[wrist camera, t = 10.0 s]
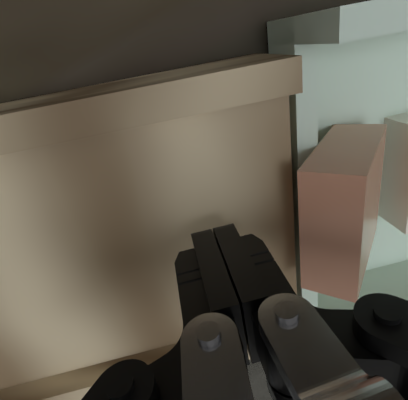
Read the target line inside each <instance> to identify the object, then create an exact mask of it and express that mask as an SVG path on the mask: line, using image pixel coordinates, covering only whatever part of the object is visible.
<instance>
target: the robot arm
mask: <svg viewBox="0 0 408 400" xmlns="http://www.w3.org/2000/svg"><path fill="white" fill-rule="evenodd" d="M191 237H192V241H193V245H194V248H192V249H188V250H184V251H180V252H179V253H178V256H177V258H176V260H175V263H174V264H175V271H176V278H177V284H178V292H179V299H180V306H181V312H182V319H183V331H182V334H181V337H180V339H179V341H178V342H177V344H176V345H175V346H174V347H173V348H172V349H171V350H170V351H169V352H168V353H166V354H165V355H163V356H162V357H160V358H159V359H157V360H155V361H154V362H152V363H150V364H149V365H147V364H146V363H145V362H143V361H141V360H138V359H127V360H122V361H120V362H117V363H115V364H114V365H112V366H110V367H109V368H108V369H106V370H105V371H104V372H103V373H102V374H101V375H100V377H99V378H98V379H97V380H96V382H95V383H94V384H93V385H92V387H91V388H90V389H89V390H88V392H87V393H86V394H85V396H84V397H83V398H82V399H81V400H254V397H253V393H252V389H251V385H250V381H249V375H248V370H247V365H249V364H250V363H249V357H248V353H249V356H250V359H251V362H252V363H256V362H259V361H261V364H262V366H263V369H264V372H265V374H266V380H267V387H268V390H269V393H270V395H271V397H272V399H273V400H408V300H405V299H402V298H400V297H397V296H393V295H390V294H385V293H372V294H367V295H364V296H362V297H360V298H359V299H358V300H357V301H356V303H355V304H354V308H353V309H323V308H318V307H315V306H313V305H312V304H311V303H310V302H309V301H307V300H306V299H305V298H303V297H301V296H298V295H296V293H295V292H294V290H293V289H292V287H291V285H290V284H289V282H288V280H287V279H286V277H285V276H284V274H283V272H282V271H281V269H280V267H279V266H278V264H277V263H276V261H274V258H273V256H272V255H271V253H270V252H269V250H268V248H267V246H266V245H265V243H264V242H263V240H261V239H260V238H258V237H257V236H255V235H253V234H248V235H244V236H240V235H239V233H238V231H237V229H236V227H235V225H234V224H233V223H232V224H228V225H224V226H220V227H216V228H213V232H212V229H208V230H204V231H200V232H196V233H192V234H191Z"/></svg>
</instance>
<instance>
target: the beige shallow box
mask: <svg viewBox="0 0 408 400" xmlns="http://www.w3.org/2000/svg"><path fill="white" fill-rule="evenodd" d="M299 93H303V82H302V55H282V54H261V53H255V54H250V55H245V56H240V57H235V58H230V59H224V60H219V61H214V62H209V63H204V64H199V65H194V66H189V67H184V68H178V69H173V70H168V71H163V72H158V73H153V74H148V75H143V76H137V77H132V78H127V79H122V80H117V81H112V82H107V83H102V84H97V85H91V86H86V87H81V88H76V89H71V90H66V91H61V92H56V93H50V94H45V95H40V96H35V97H30V98H25V99H20V100H15V101H10V102H4V103H0V400H81V399H82V398H83V397H84V396H85V394H86V393H87V392H88V390H89V389H90V388H91V387H92V385H93V384H94V383H95V382H96V380H97V379H98V378H99V377H100V375H101V374H102V373H103V372H104V371H105V370H106V369H108V368H109V367H110V366H112V365H114V364H115V363H117V362H120V361H122V360H127V359H138V360H141V361H143V362H145V363H146V364H147V365H149V364H150V363H152V362H154V361H155V360H157V359H159V358H160V357H162V356H163V355H165V354H166V353H168V352H169V351H170V350H171V349H172V348H173V347H174V346H175V345H176V344H177V342H178V341H179V339H180V337H181V334H182V331H183V319H182V312H181V306H180V299H179V292H178V284H177V278H176V271H175V264H174V263H175V260H176V258H177V256H178V253H179V252H180V251H184V250H188V249H192V248H194V245H193V241H192V237H191V234H192V233H196V232H200V231H204V230H208V229H212V232H213V228H216V227H220V226H224V225H228V224H232V223H233V224H234V225H235V227H236V229H237V231H238V233H239V235H240V236H244V235H248V234H253V235H255V236H257V237H258V238H260V239H261V240H263V242H264V243H265V245H266V246H267V248H268V250H269V252H270V253H271V255H272V256H273V258H274V261H276V263H277V264H278V266H279V267H280V269H281V271H282V272H283V274H284V276H285V277H286V279H287V280H288V282H289V284H290V285H291V287H292V289H293V290H294V292H295V293H296V295H297V283H296V258H295V233H294V208H293V183H292V158H291V133H290V108H289V95H294V94H299ZM248 357H249V359H250V356H249V353H248Z"/></svg>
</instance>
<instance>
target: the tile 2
mask: <svg viewBox="0 0 408 400" xmlns="http://www.w3.org/2000/svg"><path fill="white" fill-rule="evenodd" d="M384 124H387V131H386V140H385V150H384V160H383V170H382V180H381V189H380V199H379V209H378V215H379V216H380V217H382V218H383V219H384V220H386V221H387V222H388V223H390V224H391V225H393V226H394V227H395V228H397V229H398V230H400V231H401V232H402V233H404V234H405V235H406V234H408V112H406V113H401V114H397V115H393V116H389V117H385V118H384Z"/></svg>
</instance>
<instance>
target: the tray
mask: <svg viewBox="0 0 408 400" xmlns="http://www.w3.org/2000/svg"><path fill="white" fill-rule="evenodd" d="M267 35H268V50H269V54H282V55H302V82H303V93H299V94H294V95H289V108H290V133H291V158H292V183H293V208H294V233H295V258H296V283H297V295H298V296H301V297H303V298H305V299H306V300H307V301H309V302H310V303H311V304H312V305H313V306H315V307H318V308H323V309H353V308H354V304H355V303H354V302H350V301H347V300H343V299H339V298H336V297H332V296H329V295H325V294H321V293H318V292H314V291H310V290H307V289H303V288H301V273H300V244H299V214H298V184H297V170H298V169H299V168H300V167H301V165H302V164H303V163H304V162H305V160H306V159H307V158H308V157H309V155H310V154H311V153H312V152H313V150H314V149H315V148H316V146H317V145H318V144H319V143H320V141H321V140H322V139H323V138H324V136H325V135H326V134H327V133H328V131H329V130H330V129H331V127H332V126H333V125H334V124H384V118H385V117H389V116H393V115H397V114H401V113H406V112H408V0H370V1H365V2H360V3H354V4H349V5H344V6H339V7H334V8H329V9H325V10H320V11H315V12H311V13H306V14H301V15H297V16H292V17H287V18H283V19H278V20H273V21H269V22H267ZM372 293H385V294H390V295H393V296H397V297H400V298H402V299H405V300H408V234H406V235H405V234H404V233H402V232H401V231H400V230H398V229H397V228H395V227H394V226H393V225H391V224H390V223H388V222H387V221H386V220H384V219H383V218H382V217H380V216H379V215H378V219H377V229H376V232H375V236H374V240H373V244H372V248H371V251H370V255H369V259H368V263H367V267H366V271H365V274H364V278H363V282H362V286H361V290H360V293H359V297H358V299H359V298H360V297H362V296H364V295H367V294H372Z"/></svg>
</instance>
